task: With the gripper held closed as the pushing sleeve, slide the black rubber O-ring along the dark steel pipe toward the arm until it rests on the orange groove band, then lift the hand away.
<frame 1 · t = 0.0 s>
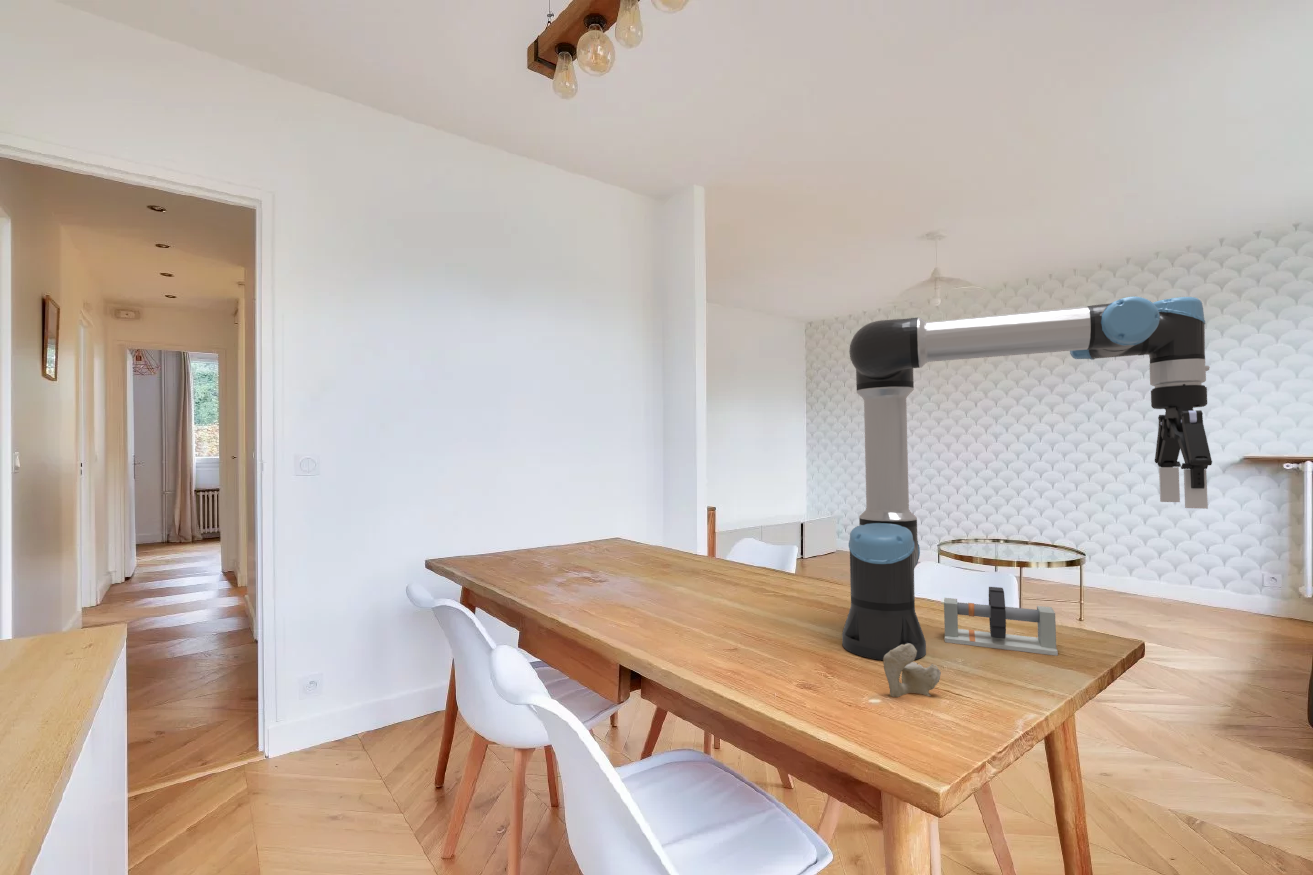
hand: (1182, 505, 105), 28 cm above the table, fingers open, 13 cm apart
bone: (909, 692, 94), on the table
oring: (996, 612, 117), point 6 cm above the table, slide at 0.0 cm
pipe rig: (997, 642, 117), on the table
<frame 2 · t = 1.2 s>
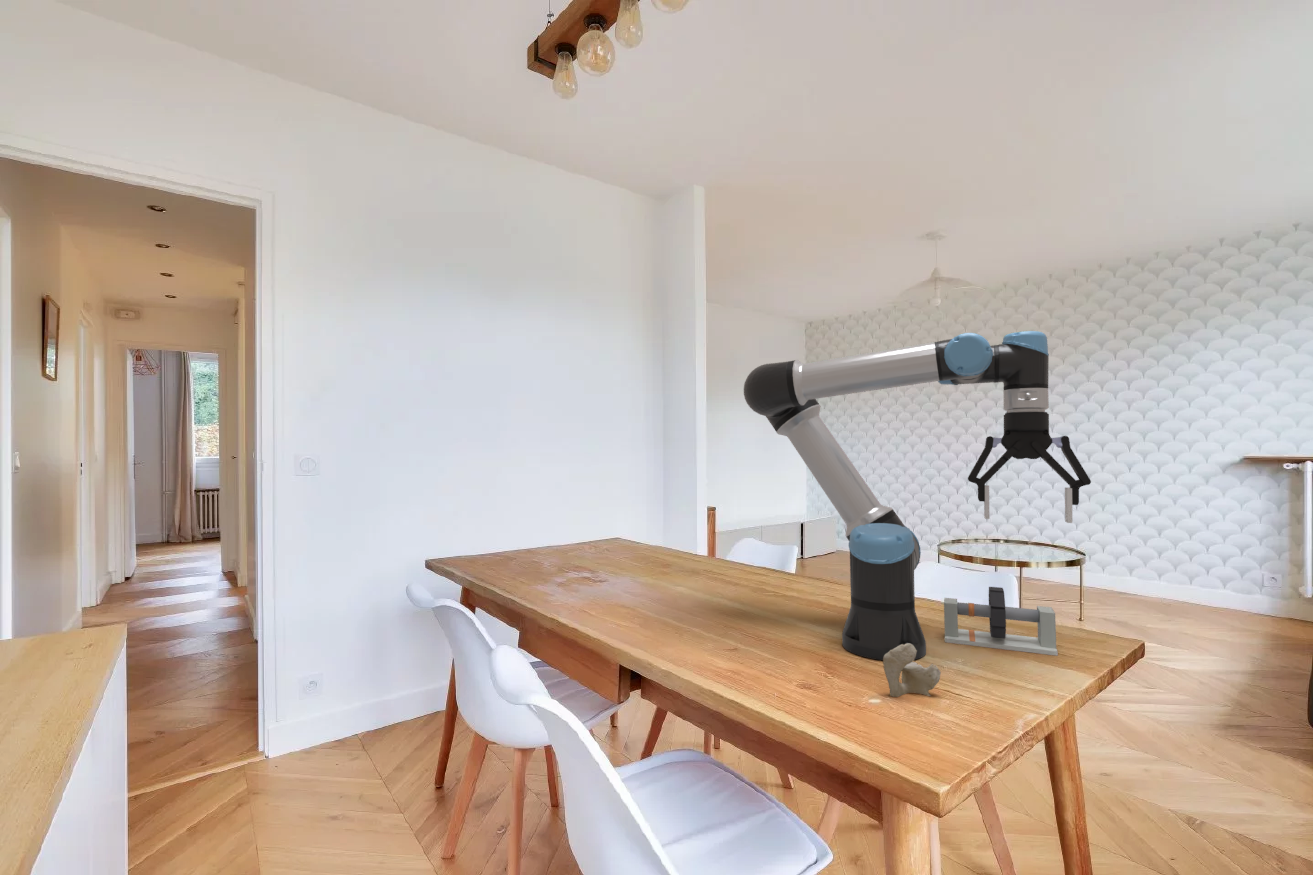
hand: (1026, 520, 115), 24 cm above the table, fingers open, 13 cm apart
nothing on the table moved.
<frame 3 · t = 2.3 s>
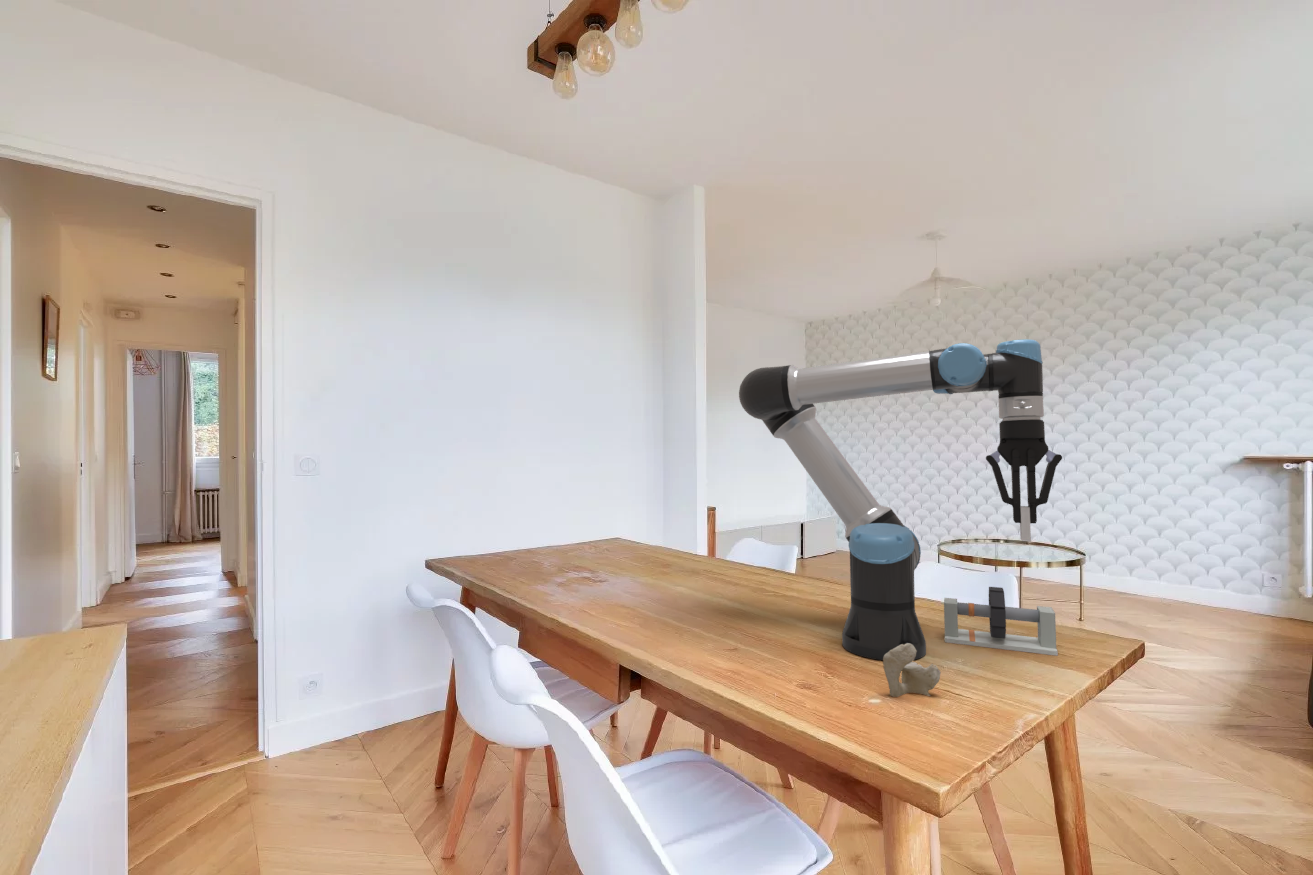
hand: (1025, 539, 115), 21 cm above the table, fingers closed
nothing on the table moved.
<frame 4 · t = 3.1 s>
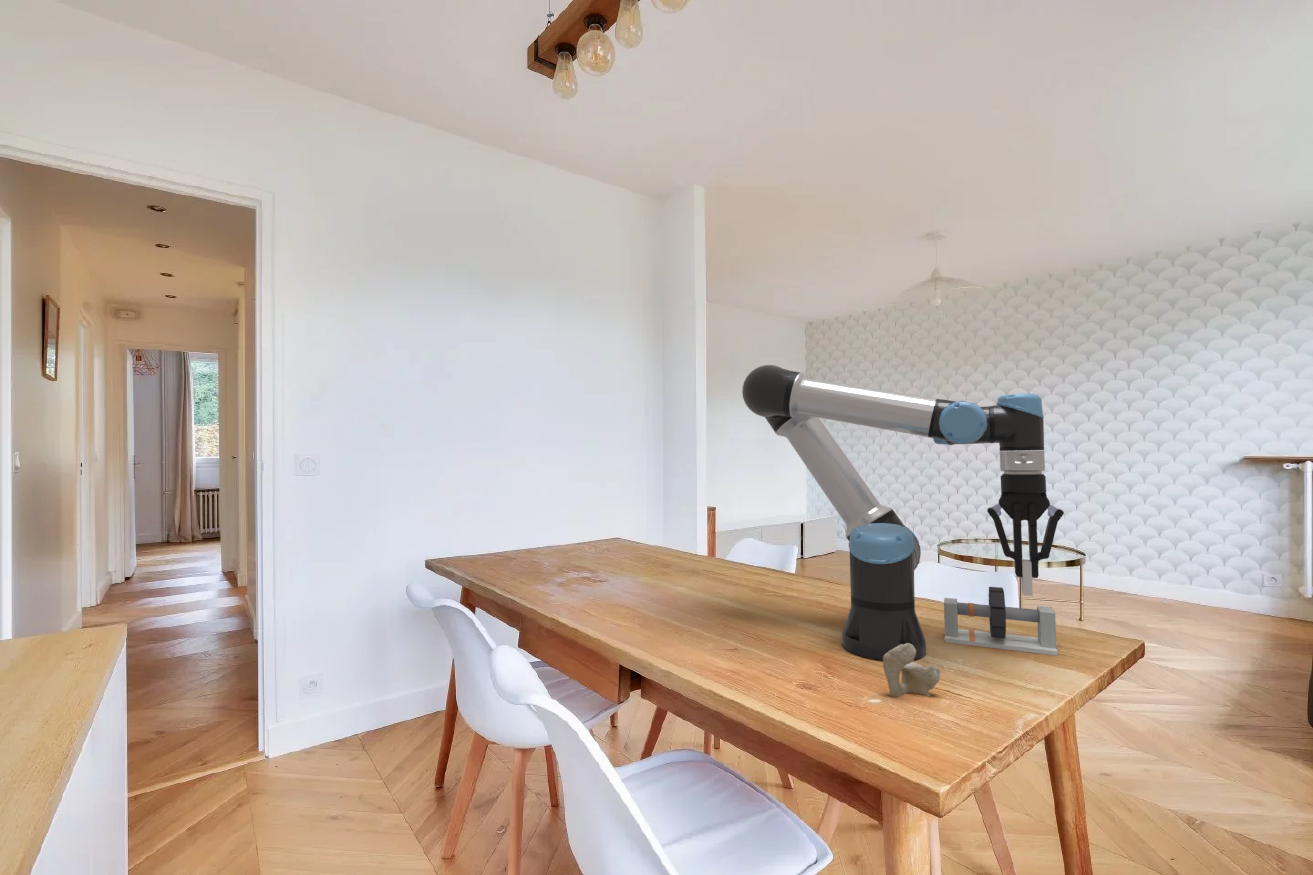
hand: (1027, 594, 115), 10 cm above the table, fingers closed
nothing on the table moved.
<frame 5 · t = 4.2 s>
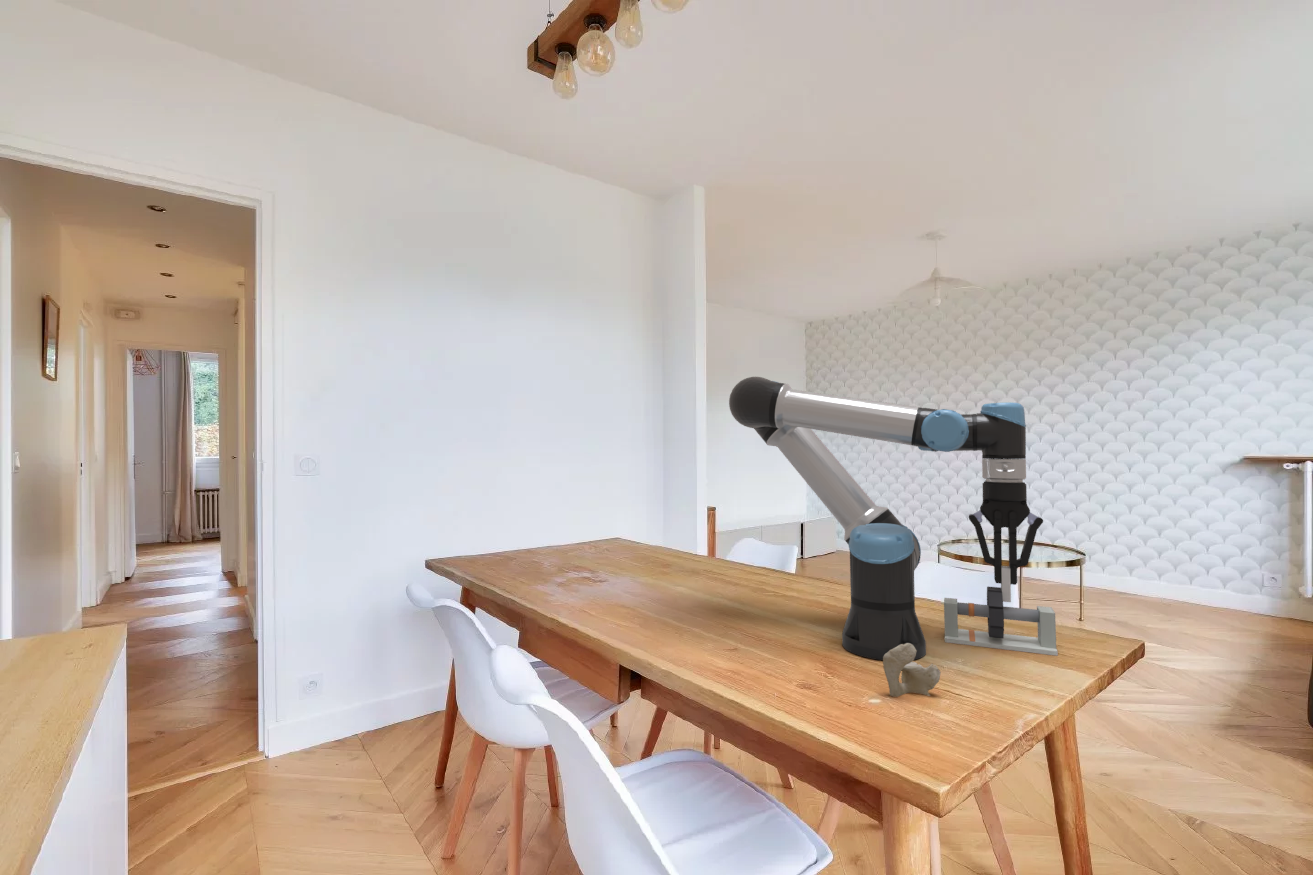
hand: (1005, 600, 116), 9 cm above the table, fingers closed
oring: (995, 611, 117), point 6 cm above the table, slide at -0.3 cm, touching gripper
everything else where it was.
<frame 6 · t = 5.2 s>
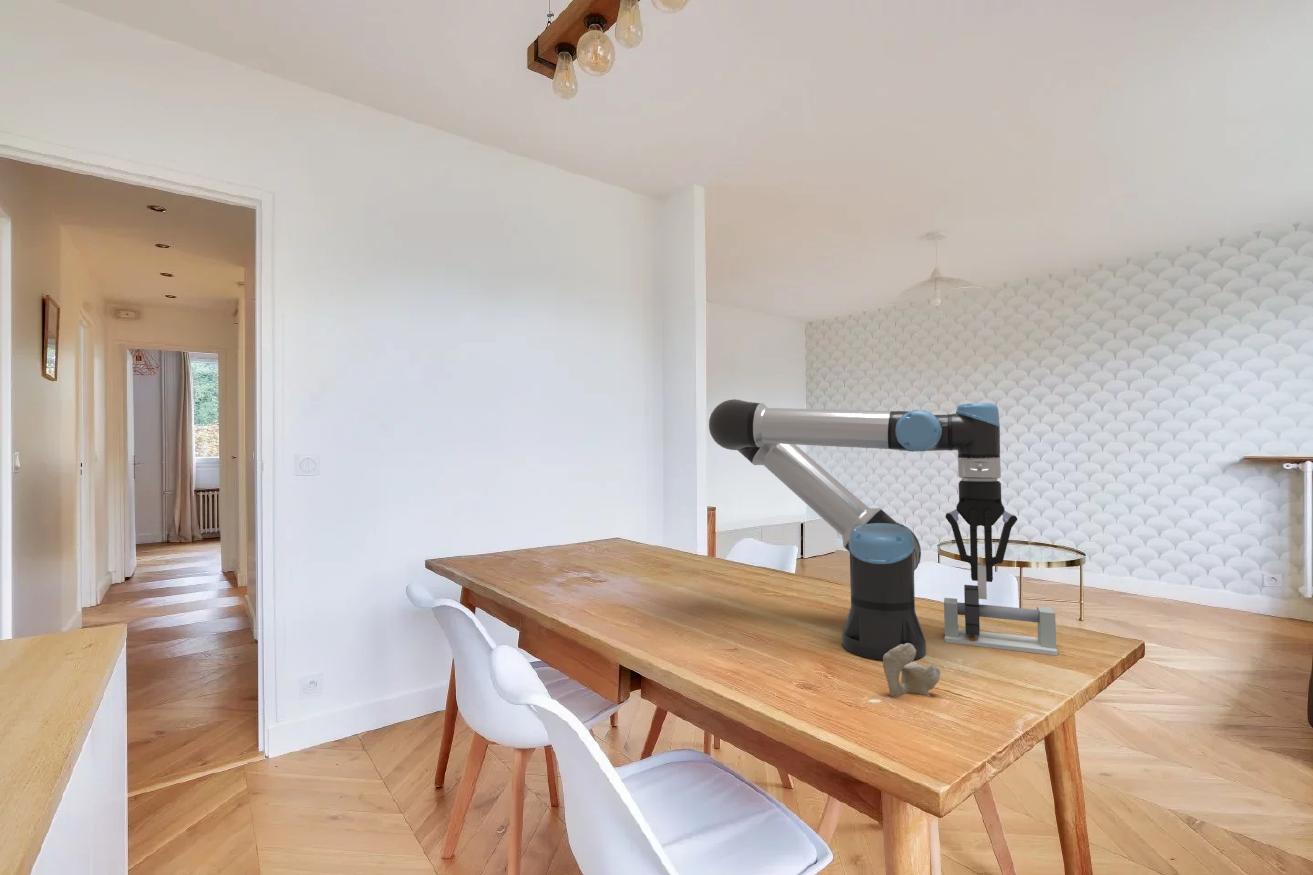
hand: (982, 597, 118), 9 cm above the table, fingers closed
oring: (971, 609, 119), point 6 cm above the table, slide at -4.4 cm, touching gripper
everything else where it was.
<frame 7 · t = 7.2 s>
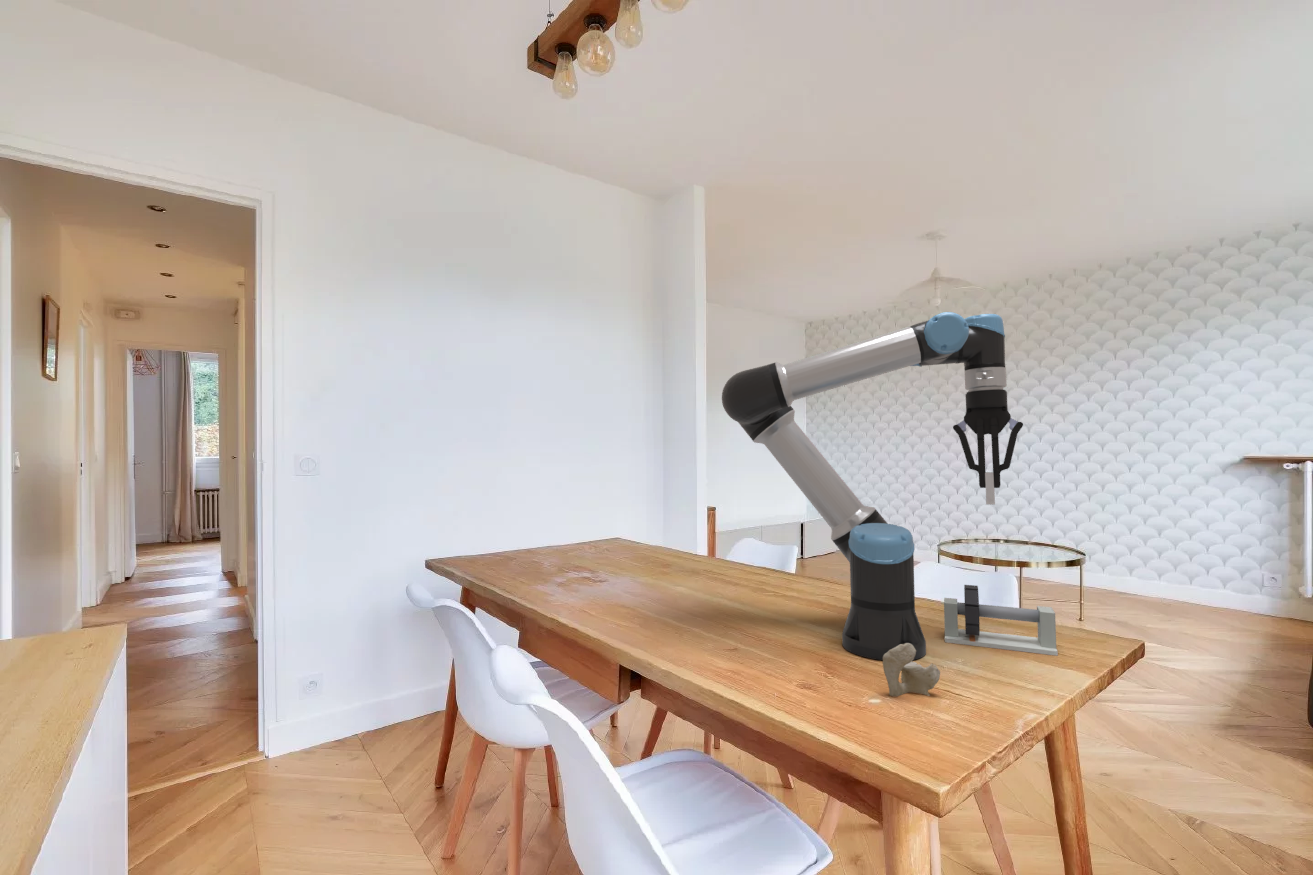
hand: (990, 503, 122), 27 cm above the table, fingers closed
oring: (971, 609, 119), point 6 cm above the table, slide at -4.4 cm
everything else where it was.
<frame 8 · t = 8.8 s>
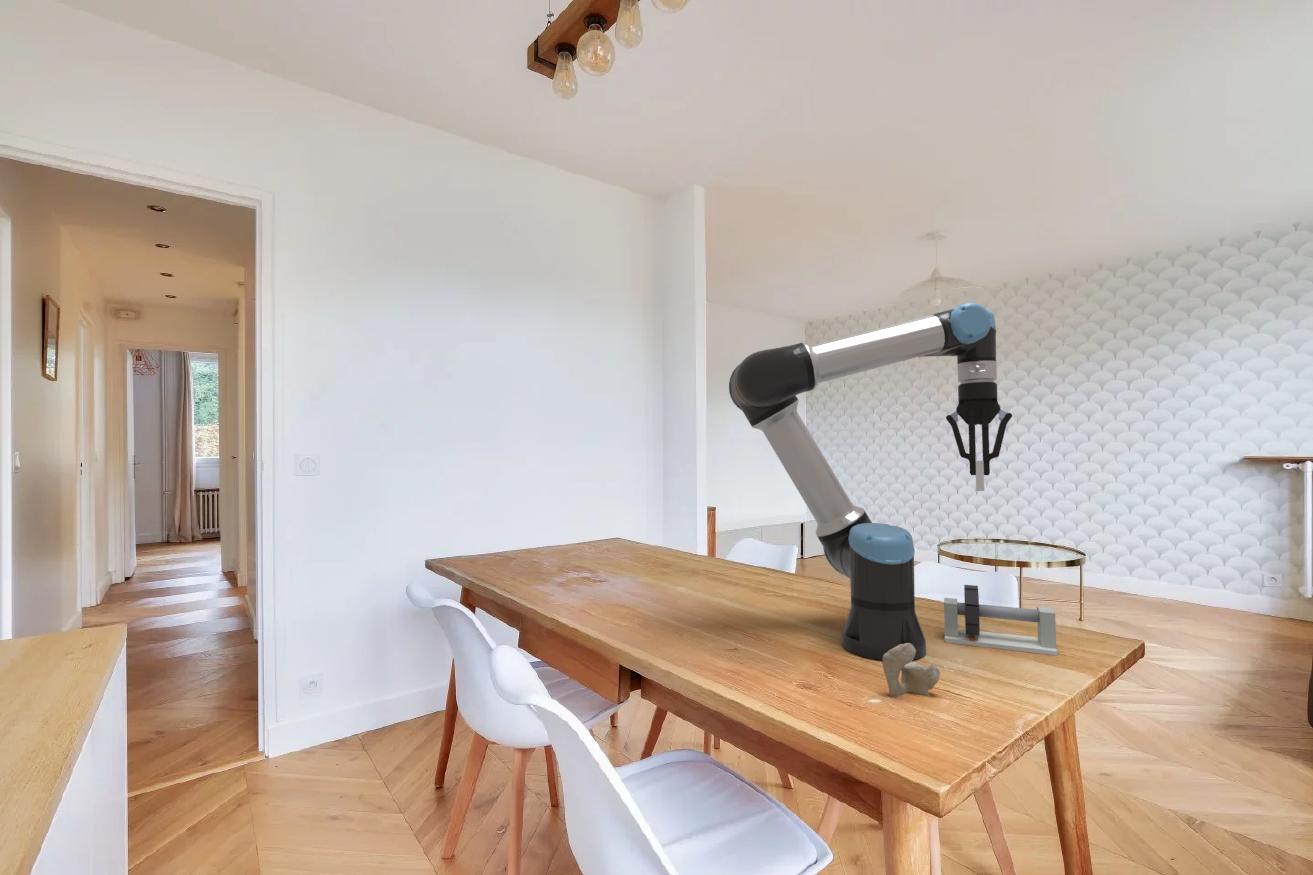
hand: (980, 490, 129), 29 cm above the table, fingers closed
nothing on the table moved.
at the end: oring slide at -4.4 cm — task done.
